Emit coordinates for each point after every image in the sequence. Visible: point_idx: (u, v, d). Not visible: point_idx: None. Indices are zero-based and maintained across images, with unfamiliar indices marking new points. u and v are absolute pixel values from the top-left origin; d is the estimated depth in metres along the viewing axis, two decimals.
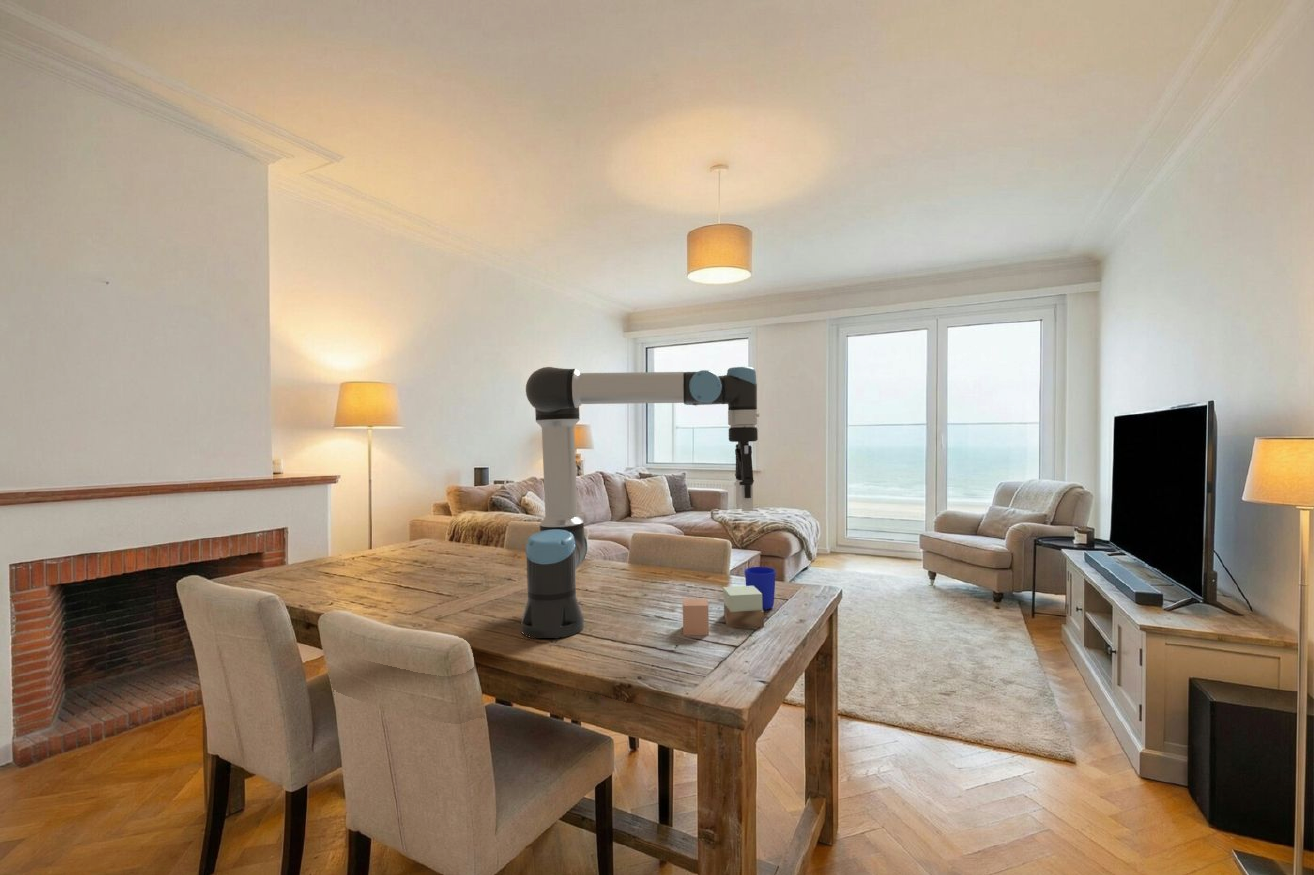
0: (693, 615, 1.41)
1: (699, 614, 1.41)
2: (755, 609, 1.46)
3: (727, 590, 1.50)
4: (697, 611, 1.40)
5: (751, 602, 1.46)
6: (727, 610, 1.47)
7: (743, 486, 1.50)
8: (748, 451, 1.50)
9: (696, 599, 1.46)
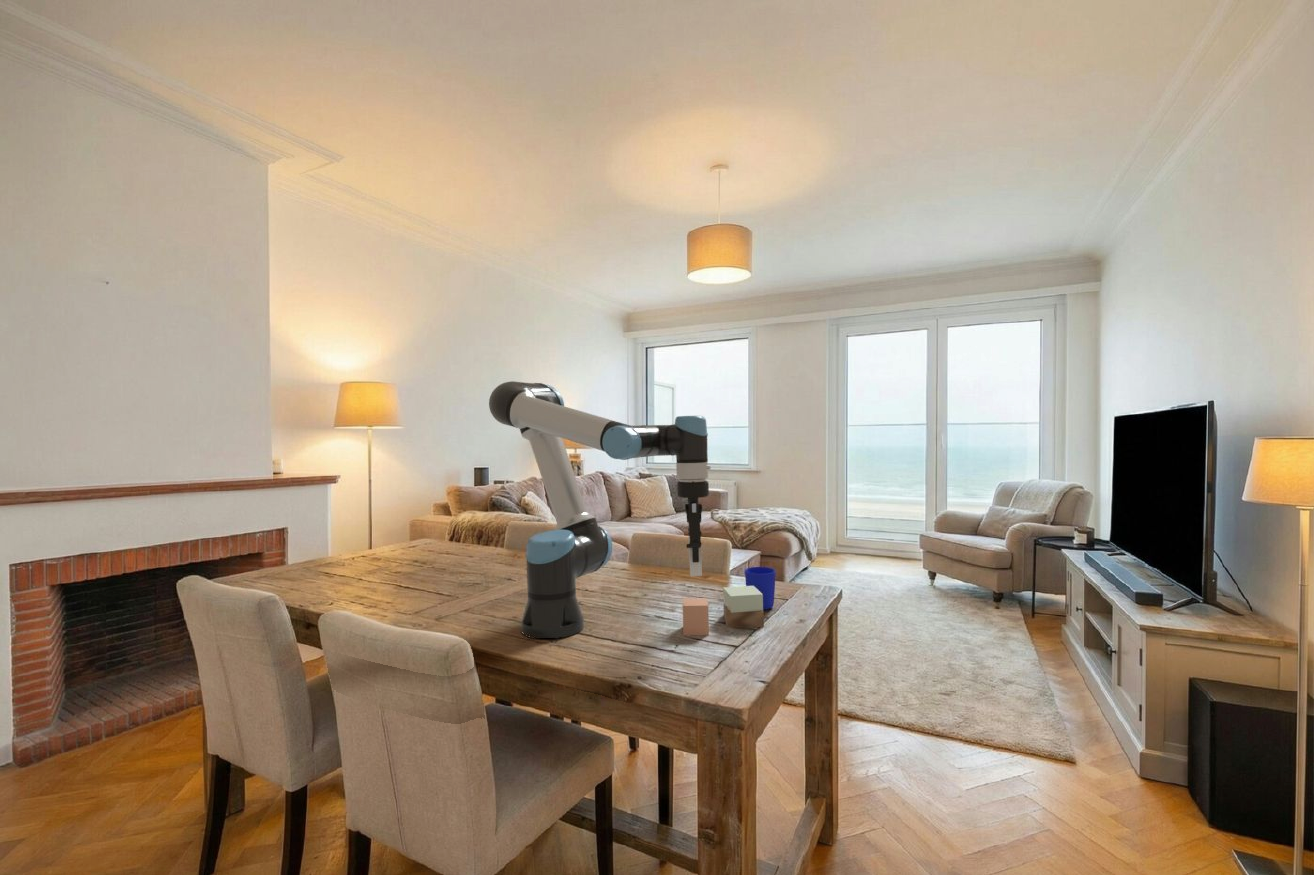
0: (693, 615, 1.41)
1: (699, 614, 1.41)
2: (756, 609, 1.46)
3: (727, 591, 1.50)
4: (697, 611, 1.40)
5: (752, 602, 1.46)
6: (727, 610, 1.47)
7: (691, 549, 1.36)
8: (696, 510, 1.36)
9: (696, 599, 1.46)
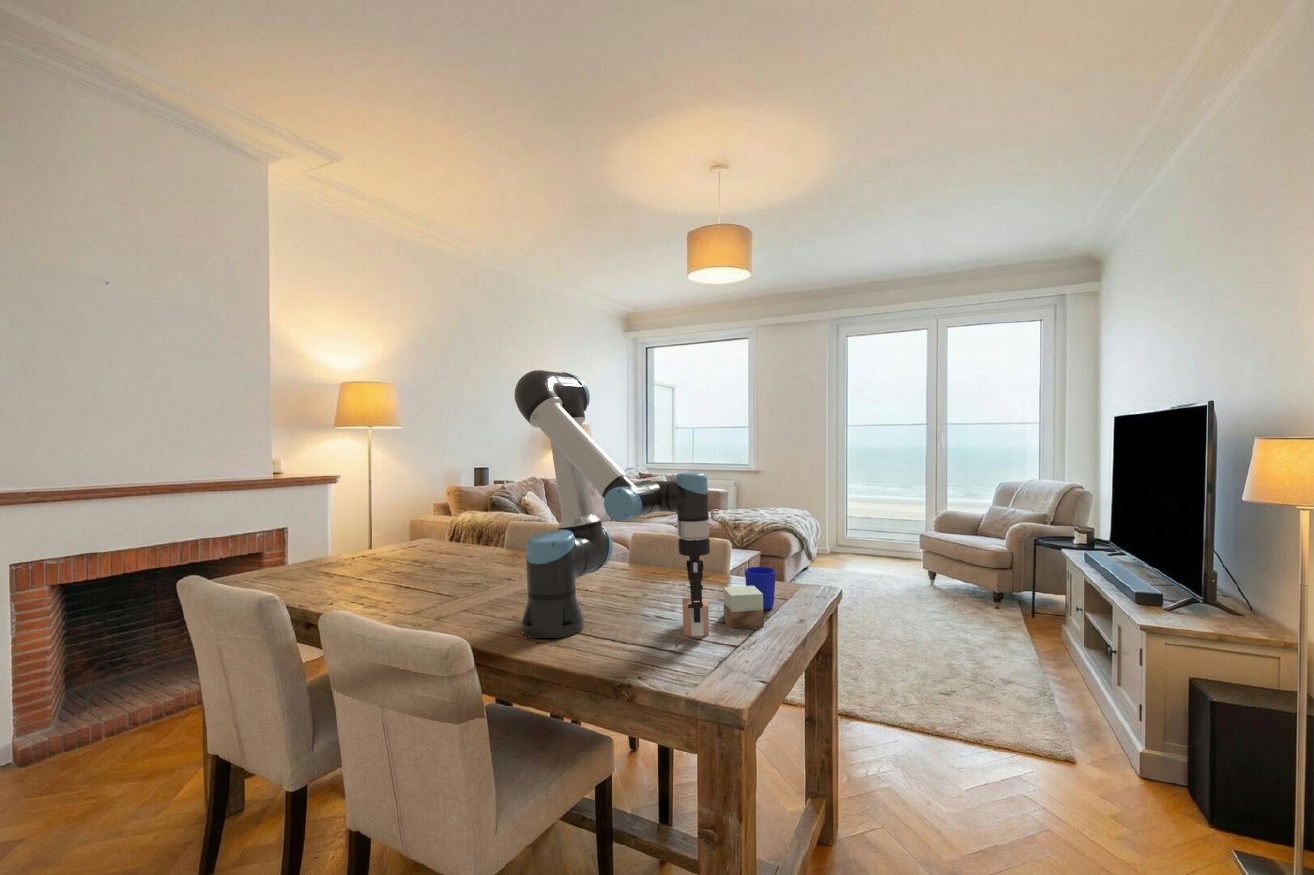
0: None
1: None
2: (756, 609, 1.46)
3: (728, 590, 1.50)
4: None
5: (752, 602, 1.46)
6: (727, 610, 1.47)
7: (692, 609, 1.36)
8: (697, 570, 1.36)
9: None
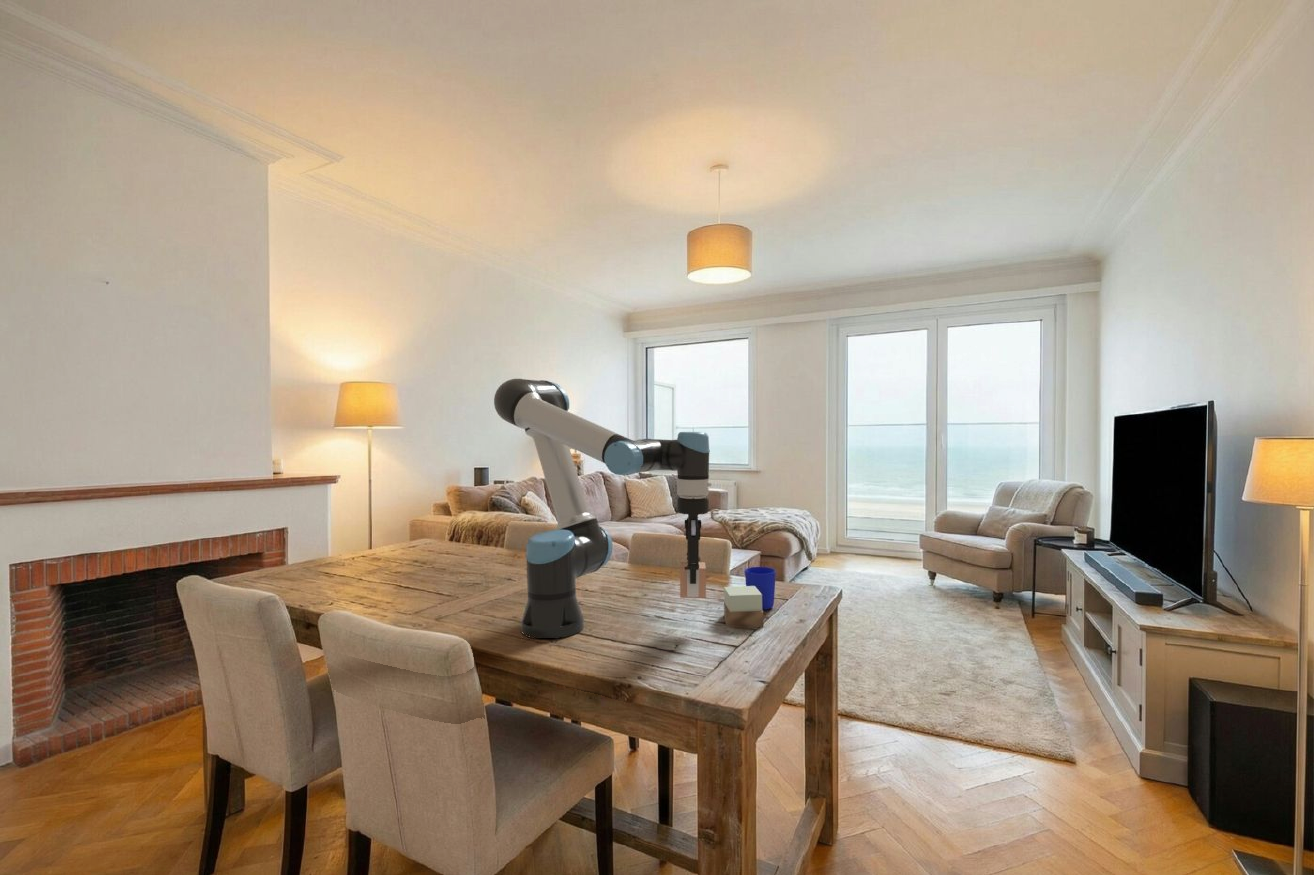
0: None
1: None
2: (755, 609, 1.46)
3: (727, 590, 1.51)
4: None
5: (751, 602, 1.46)
6: (727, 610, 1.47)
7: (689, 570, 1.40)
8: (695, 533, 1.37)
9: (694, 563, 1.46)
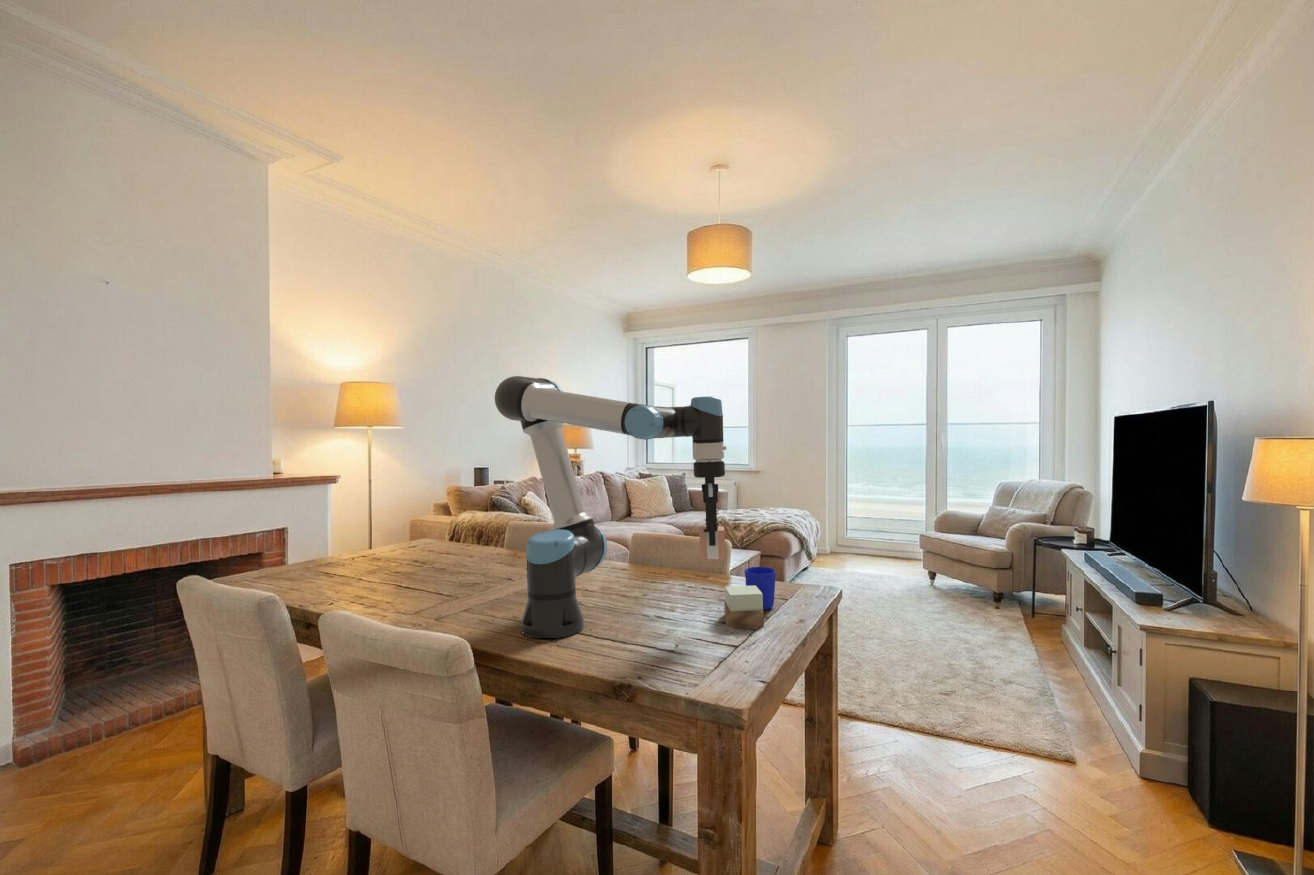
0: None
1: None
2: (755, 609, 1.47)
3: (728, 590, 1.51)
4: None
5: (751, 602, 1.46)
6: (727, 610, 1.47)
7: (708, 533, 1.41)
8: (712, 495, 1.39)
9: None
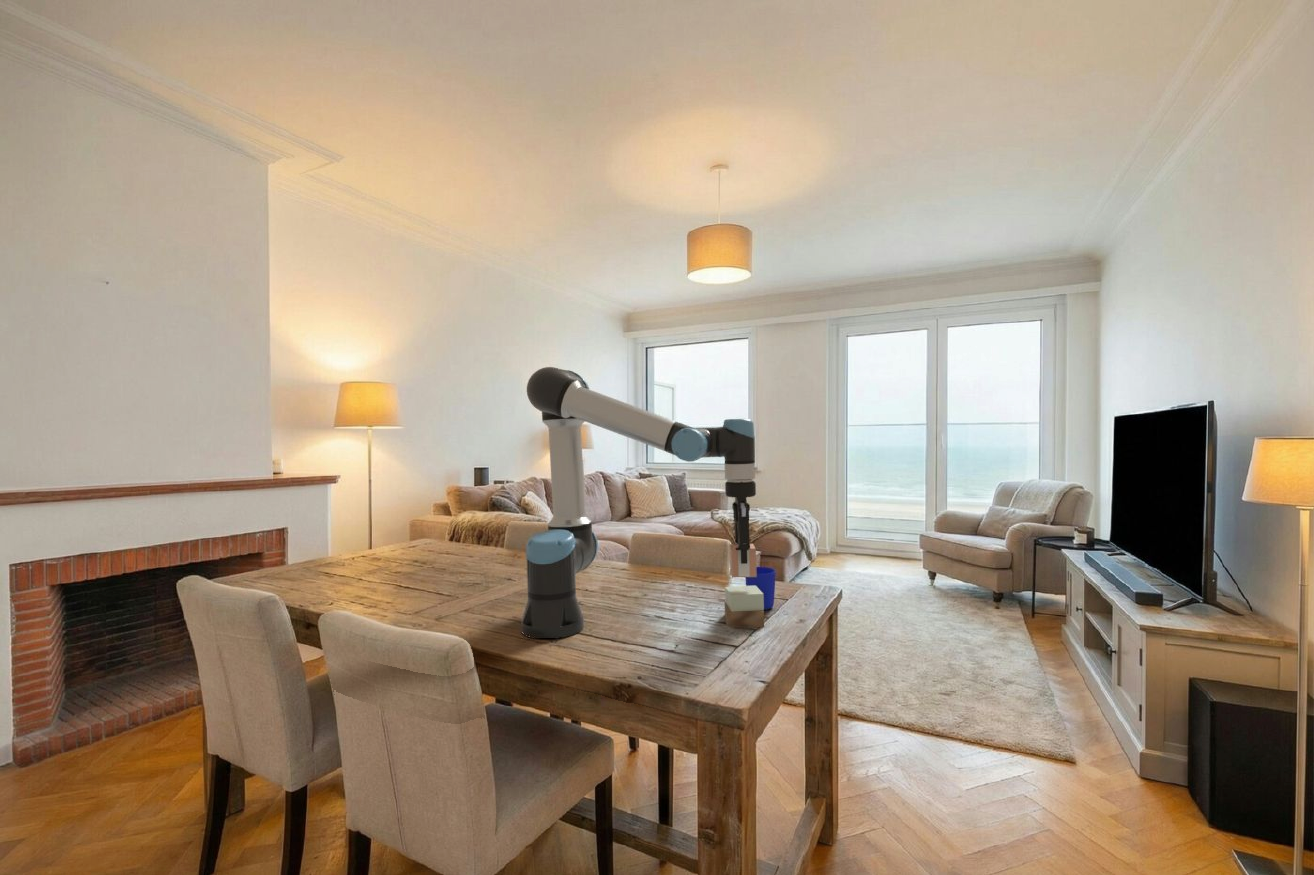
0: None
1: None
2: (756, 609, 1.47)
3: (729, 590, 1.51)
4: None
5: (752, 602, 1.46)
6: (727, 610, 1.47)
7: (739, 551, 1.46)
8: (745, 514, 1.43)
9: None
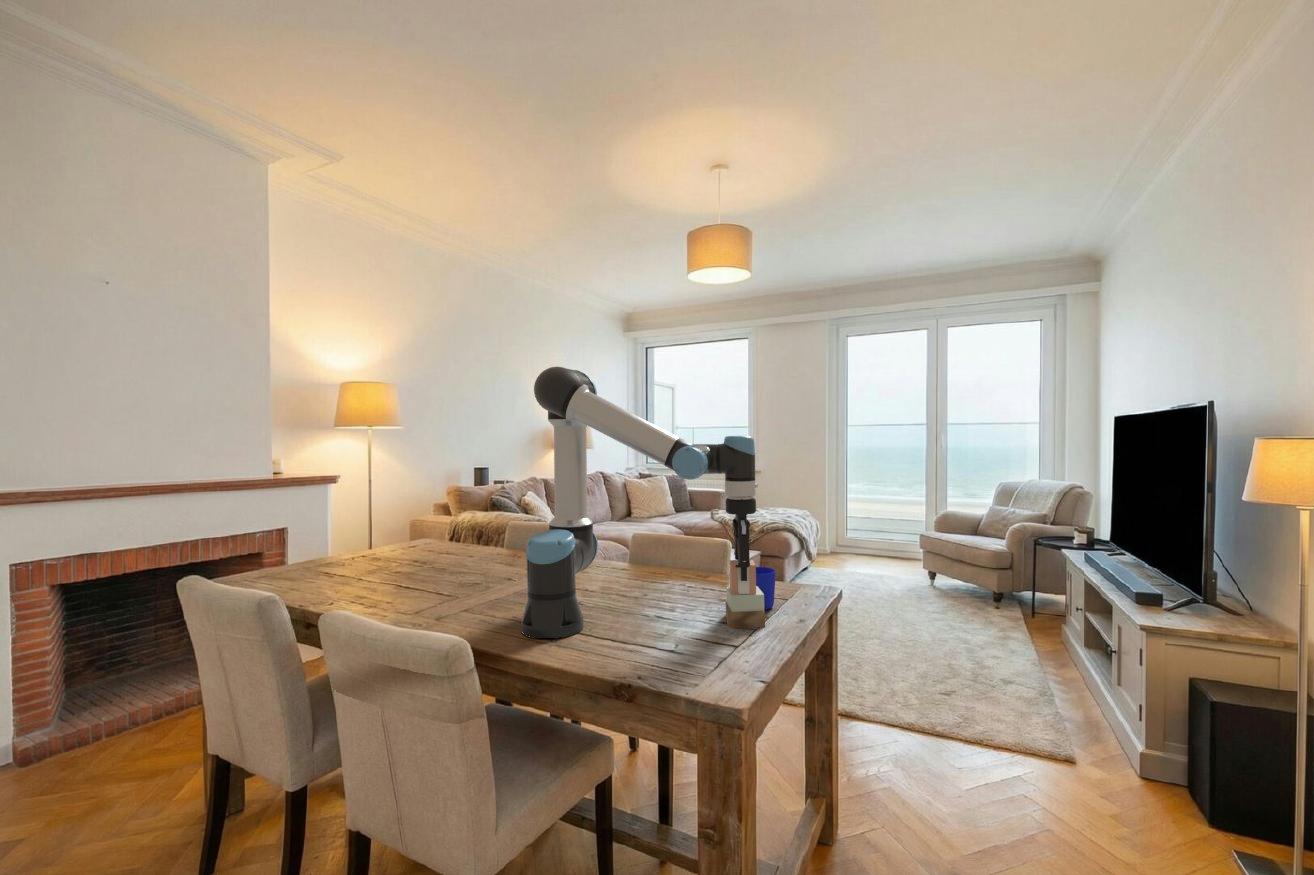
0: None
1: None
2: (757, 610, 1.46)
3: (730, 590, 1.50)
4: None
5: (753, 602, 1.46)
6: (728, 610, 1.47)
7: (739, 568, 1.46)
8: (745, 532, 1.43)
9: None
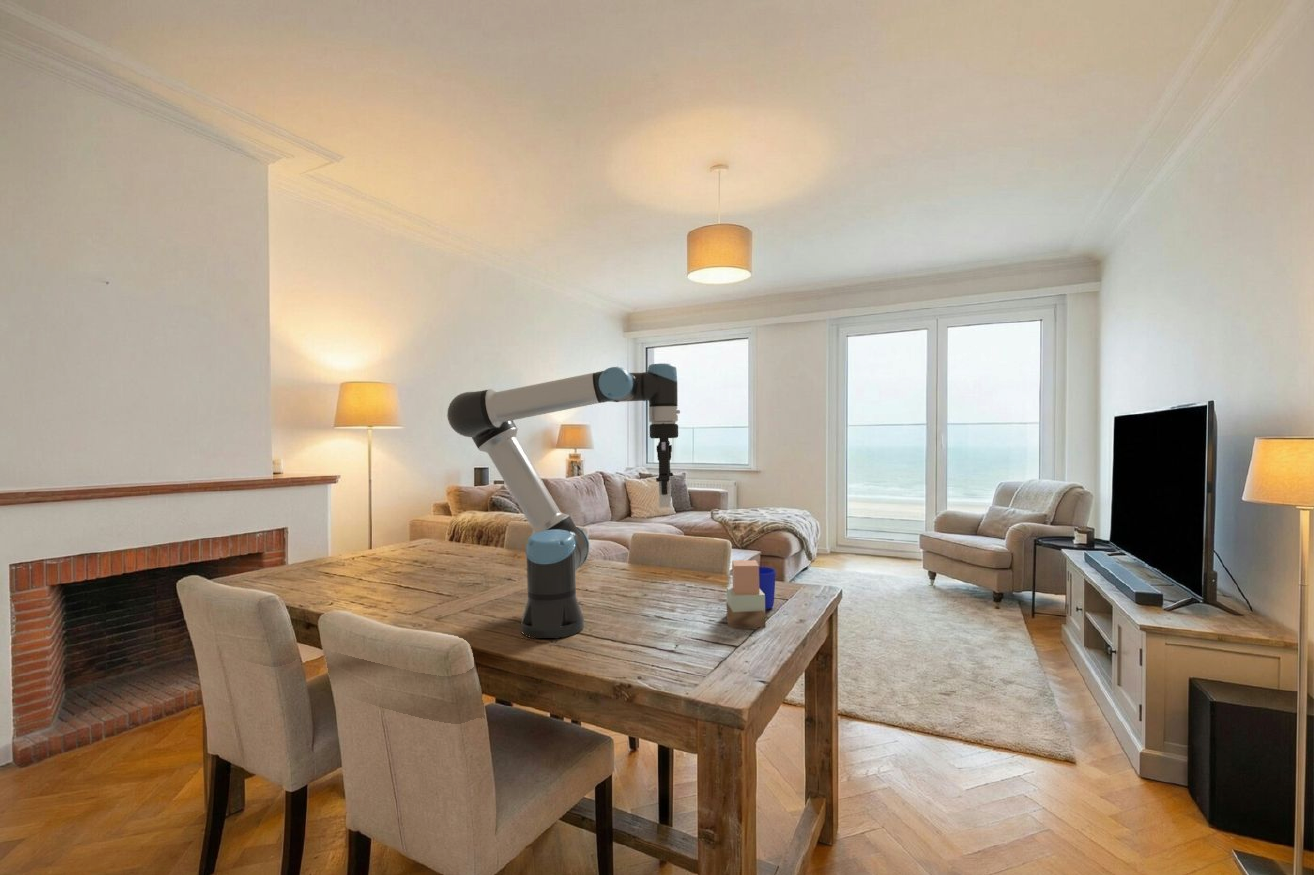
0: (744, 575, 1.47)
1: (750, 574, 1.47)
2: (758, 610, 1.46)
3: (730, 590, 1.50)
4: (748, 571, 1.47)
5: (754, 603, 1.46)
6: (729, 610, 1.47)
7: (660, 482, 1.50)
8: (665, 447, 1.50)
9: (745, 561, 1.52)
